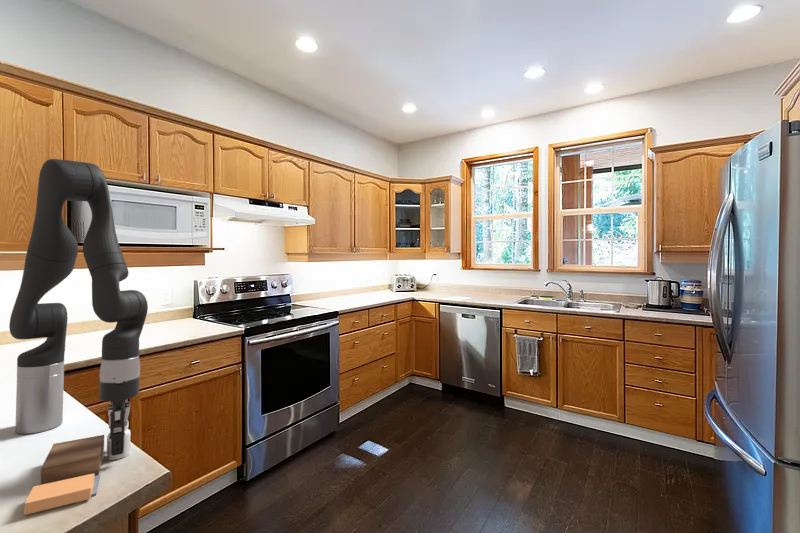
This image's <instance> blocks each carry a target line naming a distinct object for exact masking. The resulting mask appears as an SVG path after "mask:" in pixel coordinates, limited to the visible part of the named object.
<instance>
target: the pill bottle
mask: <svg viewBox="0 0 800 533" xmlns="http://www.w3.org/2000/svg"><path fill="white" fill-rule="evenodd" d="M124 421H125V420H124ZM121 429H122V428H121V427H118V428H115V429H114V433H117V432H121ZM109 436H110V432H108V434H107V436H106V459H108V460H109V459H110V460H111V461H116V460H115V459H117V460H121V459H124V458H126V457H127V456H129V455H130V453H131V436H132V434H131V430H130V429H129V420H128V425H127V426H126V427H125V435H124V451H123V453H122V454H119V455H114V456H113V455H111V440H110V438H109ZM120 458H121V459H120Z"/></svg>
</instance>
